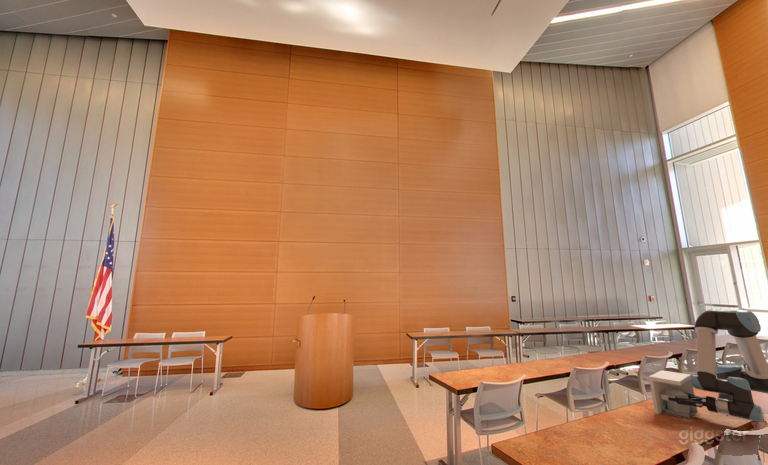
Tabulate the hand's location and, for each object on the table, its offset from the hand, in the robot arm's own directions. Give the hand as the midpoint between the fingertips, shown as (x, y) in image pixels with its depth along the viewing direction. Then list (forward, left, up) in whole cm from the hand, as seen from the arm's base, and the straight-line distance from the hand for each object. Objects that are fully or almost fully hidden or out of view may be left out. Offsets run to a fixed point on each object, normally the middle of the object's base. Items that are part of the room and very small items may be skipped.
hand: (664, 394), depth 182 cm
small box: (-5, 0, -8) cm, 9 cm away
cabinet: (-4, 0, -9) cm, 10 cm away
